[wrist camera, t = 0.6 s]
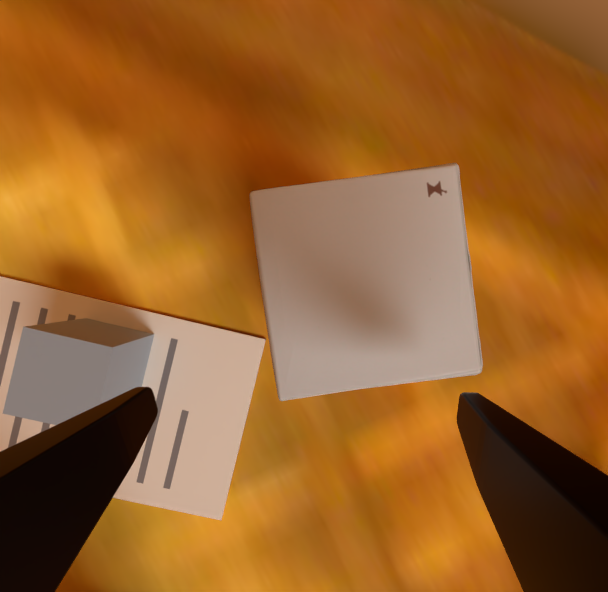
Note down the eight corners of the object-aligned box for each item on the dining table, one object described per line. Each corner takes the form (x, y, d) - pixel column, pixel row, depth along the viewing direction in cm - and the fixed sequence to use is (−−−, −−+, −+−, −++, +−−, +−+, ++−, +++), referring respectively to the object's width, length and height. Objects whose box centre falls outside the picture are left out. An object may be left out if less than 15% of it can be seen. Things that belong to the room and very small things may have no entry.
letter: (221, 518, 22) (221, 520, 22) (-62, 458, 21) (-66, 460, 21) (265, 339, 22) (265, 339, 22) (-18, 271, 21) (-22, 271, 21)
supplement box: (271, 243, 22) (243, 179, 9) (368, 231, 22) (468, 155, 10) (284, 340, 22) (273, 407, 10) (380, 327, 22) (493, 375, 10)
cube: (138, 400, 22) (92, 433, 17) (70, 384, 21) (2, 413, 16) (154, 334, 22) (112, 347, 17) (86, 318, 21) (23, 326, 16)
